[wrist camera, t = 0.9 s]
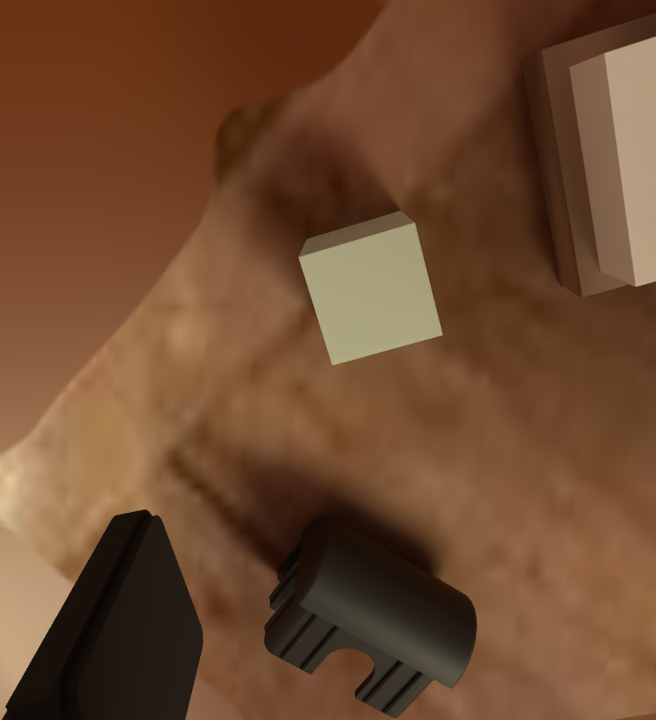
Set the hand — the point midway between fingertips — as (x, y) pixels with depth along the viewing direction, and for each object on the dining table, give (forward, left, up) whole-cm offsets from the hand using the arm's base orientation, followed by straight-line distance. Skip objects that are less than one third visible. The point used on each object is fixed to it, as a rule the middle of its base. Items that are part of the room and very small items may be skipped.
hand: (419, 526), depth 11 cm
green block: (0, -1, -22) cm, 22 cm away
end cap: (+5, +17, -22) cm, 28 cm away
